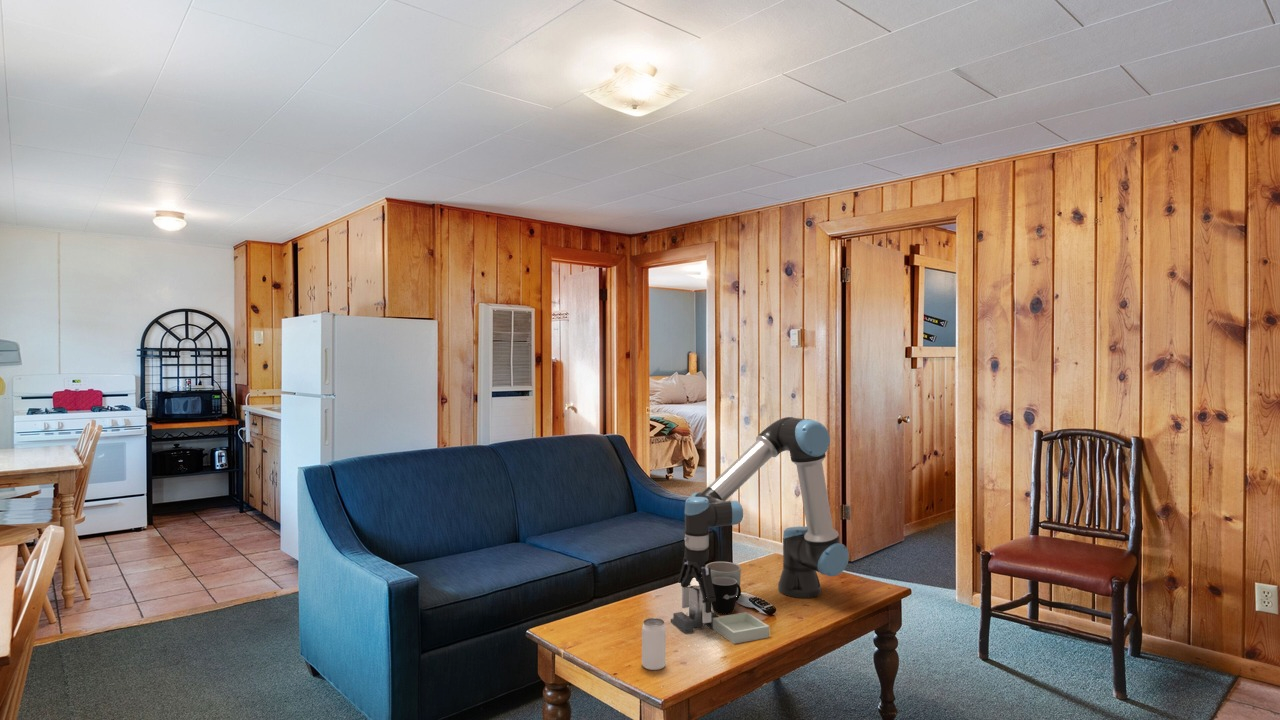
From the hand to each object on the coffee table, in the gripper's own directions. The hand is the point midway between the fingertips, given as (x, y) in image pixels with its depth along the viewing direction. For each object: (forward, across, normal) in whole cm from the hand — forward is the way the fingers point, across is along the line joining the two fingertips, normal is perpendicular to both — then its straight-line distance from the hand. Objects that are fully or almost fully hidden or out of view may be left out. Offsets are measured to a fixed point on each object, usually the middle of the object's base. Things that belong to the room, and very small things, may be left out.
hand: (696, 614), depth 216 cm
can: (+4, +20, -24) cm, 31 cm away
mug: (+4, -8, +16) cm, 18 cm away
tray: (+4, +10, +10) cm, 15 cm away
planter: (+4, -19, +21) cm, 29 cm away
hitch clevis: (+4, 0, 0) cm, 4 cm away
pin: (+4, 0, 0) cm, 4 cm away
